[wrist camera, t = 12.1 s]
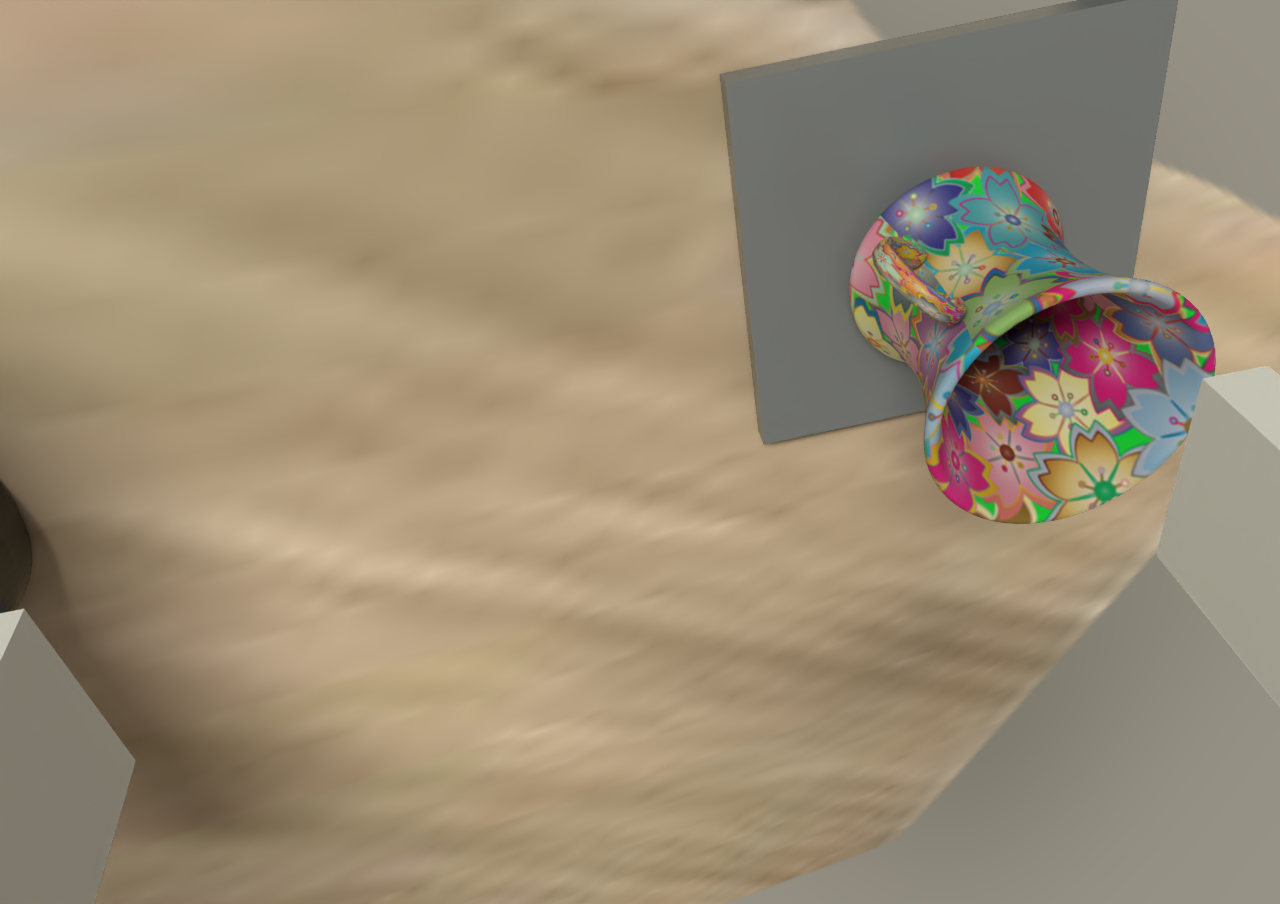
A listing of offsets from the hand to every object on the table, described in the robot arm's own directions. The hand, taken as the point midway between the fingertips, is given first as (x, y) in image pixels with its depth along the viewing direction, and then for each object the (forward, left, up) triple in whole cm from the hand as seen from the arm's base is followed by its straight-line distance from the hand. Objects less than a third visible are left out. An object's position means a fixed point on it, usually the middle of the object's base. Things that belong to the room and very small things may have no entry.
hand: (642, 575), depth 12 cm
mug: (+13, -12, -27) cm, 32 cm away
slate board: (+14, -12, -27) cm, 33 cm away
